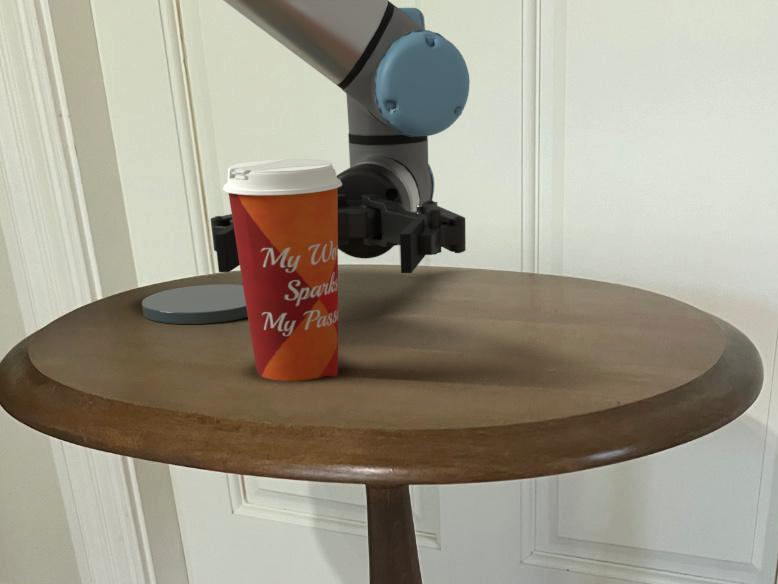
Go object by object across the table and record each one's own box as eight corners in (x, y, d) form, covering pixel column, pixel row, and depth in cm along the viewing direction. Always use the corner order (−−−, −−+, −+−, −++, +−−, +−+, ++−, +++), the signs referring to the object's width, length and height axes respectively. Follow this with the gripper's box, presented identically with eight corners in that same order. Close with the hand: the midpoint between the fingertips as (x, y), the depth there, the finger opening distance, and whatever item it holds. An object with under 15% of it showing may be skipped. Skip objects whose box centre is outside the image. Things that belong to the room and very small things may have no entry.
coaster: (119, 321, 92) (117, 309, 92) (179, 293, 102) (178, 282, 101) (237, 327, 90) (236, 315, 89) (288, 297, 99) (287, 286, 98)
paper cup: (285, 401, 71) (265, 175, 65) (222, 378, 77) (198, 166, 70) (376, 376, 76) (366, 162, 69) (311, 355, 81) (296, 154, 74)
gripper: (510, 251, 96) (485, 307, 78) (239, 251, 100) (155, 304, 82) (511, 160, 93) (485, 197, 74) (231, 164, 96) (140, 199, 78)
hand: (312, 253), depth 78 cm, fingers open, 13 cm apart
